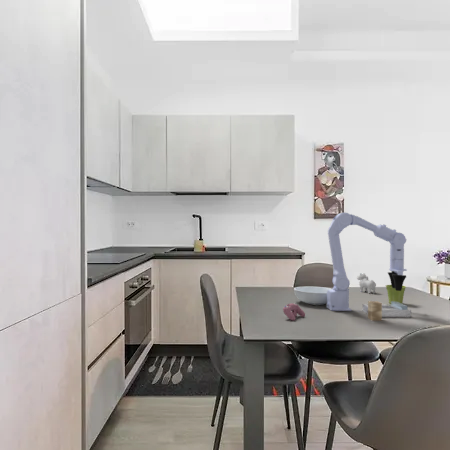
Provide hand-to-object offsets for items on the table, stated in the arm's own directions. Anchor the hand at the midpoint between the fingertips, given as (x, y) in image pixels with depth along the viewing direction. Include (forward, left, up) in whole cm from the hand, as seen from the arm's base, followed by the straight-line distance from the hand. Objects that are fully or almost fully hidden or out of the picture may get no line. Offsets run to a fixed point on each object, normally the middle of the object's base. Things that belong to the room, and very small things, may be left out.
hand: (396, 289), depth 174 cm
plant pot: (+8, +17, -10) cm, 22 cm away
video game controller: (-49, -14, -10) cm, 52 cm away
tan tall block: (-16, -16, -10) cm, 24 cm away
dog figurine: (+6, +50, -10) cm, 52 cm away
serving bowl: (-32, +17, -10) cm, 38 cm away
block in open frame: (-7, -6, -10) cm, 13 cm away
